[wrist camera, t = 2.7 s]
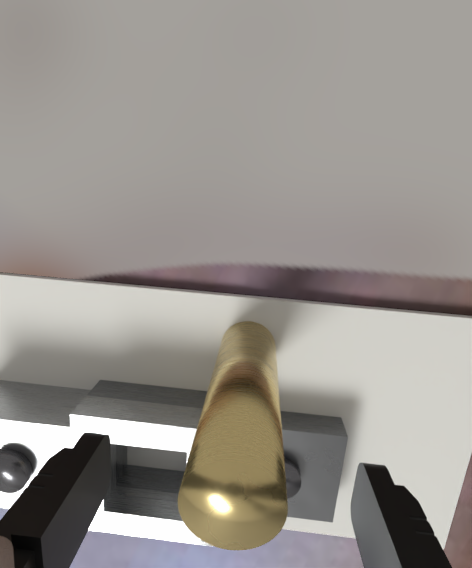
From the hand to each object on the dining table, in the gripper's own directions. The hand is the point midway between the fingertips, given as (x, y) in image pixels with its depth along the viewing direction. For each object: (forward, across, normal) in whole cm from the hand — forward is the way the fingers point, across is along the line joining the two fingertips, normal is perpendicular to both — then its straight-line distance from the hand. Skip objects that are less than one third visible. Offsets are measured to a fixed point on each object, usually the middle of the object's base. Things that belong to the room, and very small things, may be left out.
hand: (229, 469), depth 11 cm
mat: (+10, +3, +5) cm, 12 cm away
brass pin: (+10, 0, 0) cm, 10 cm away
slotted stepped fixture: (+10, +5, +7) cm, 13 cm away
